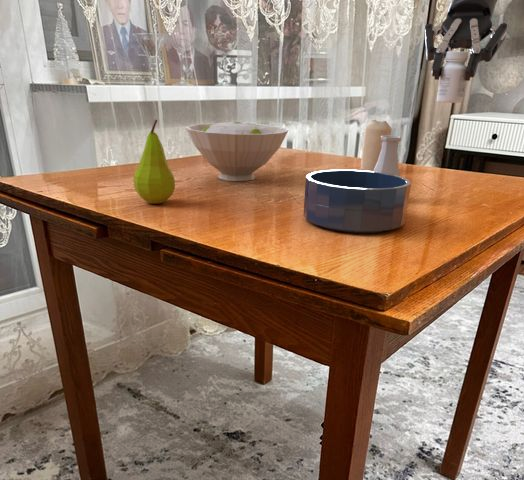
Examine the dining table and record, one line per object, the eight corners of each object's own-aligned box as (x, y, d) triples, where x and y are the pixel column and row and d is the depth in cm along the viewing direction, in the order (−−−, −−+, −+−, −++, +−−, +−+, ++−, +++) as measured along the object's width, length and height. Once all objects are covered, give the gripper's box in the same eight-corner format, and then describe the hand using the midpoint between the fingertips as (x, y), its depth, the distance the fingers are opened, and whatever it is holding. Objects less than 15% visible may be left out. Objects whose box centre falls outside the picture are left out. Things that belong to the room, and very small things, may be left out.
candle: (391, 170, 118) (397, 120, 113) (377, 173, 114) (383, 122, 109) (369, 167, 121) (375, 118, 116) (355, 169, 117) (360, 119, 113)
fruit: (126, 202, 84) (119, 118, 78) (158, 196, 88) (153, 116, 83) (153, 209, 80) (147, 122, 75) (184, 203, 84) (181, 120, 79)
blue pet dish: (415, 219, 80) (422, 177, 77) (386, 242, 69) (393, 194, 66) (326, 205, 86) (329, 166, 83) (286, 225, 75) (289, 180, 72)
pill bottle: (460, 101, 96) (469, 52, 92) (464, 103, 92) (473, 51, 88) (435, 101, 97) (442, 51, 93) (437, 102, 93) (445, 51, 89)
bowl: (253, 192, 93) (255, 130, 89) (165, 178, 102) (162, 121, 97) (302, 176, 108) (306, 122, 104) (222, 165, 117) (222, 115, 112)
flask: (369, 204, 87) (377, 138, 83) (355, 195, 94) (362, 133, 89) (411, 204, 88) (421, 139, 84) (395, 195, 95) (403, 134, 90)
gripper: (432, -20, 94) (408, 57, 90) (521, -23, 89) (499, 58, 85) (432, 18, 101) (410, 91, 97) (515, 17, 96) (494, 95, 92)
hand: (452, 76), depth 91 cm, fingers closed on pill bottle, 4 cm apart
